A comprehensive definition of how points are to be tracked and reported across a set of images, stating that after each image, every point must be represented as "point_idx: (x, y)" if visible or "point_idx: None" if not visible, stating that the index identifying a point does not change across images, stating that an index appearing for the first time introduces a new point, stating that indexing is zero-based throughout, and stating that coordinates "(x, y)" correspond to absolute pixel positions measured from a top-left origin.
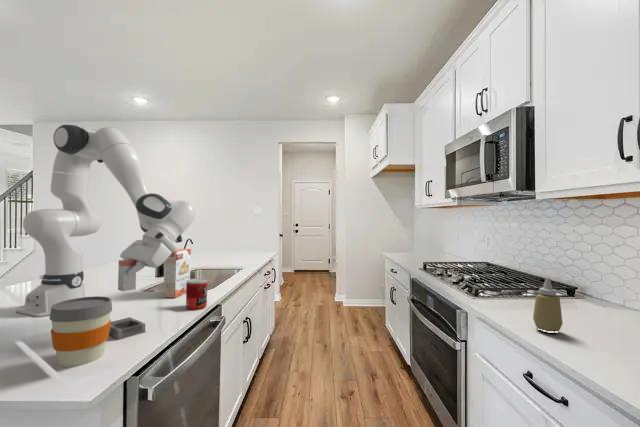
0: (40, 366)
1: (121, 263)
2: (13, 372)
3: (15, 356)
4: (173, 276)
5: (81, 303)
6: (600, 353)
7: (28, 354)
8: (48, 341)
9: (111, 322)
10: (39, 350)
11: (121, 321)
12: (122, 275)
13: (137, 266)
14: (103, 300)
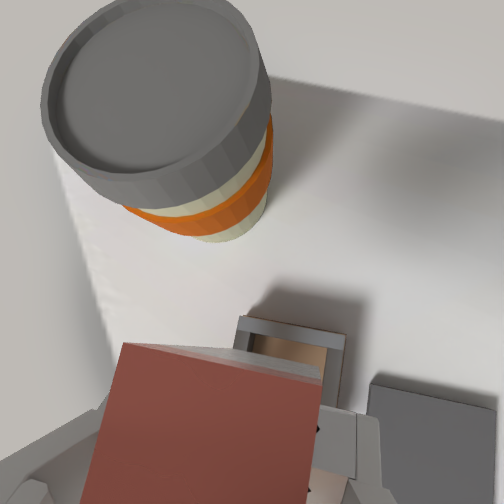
0: (286, 136)
1: (215, 359)
2: (308, 95)
3: (425, 124)
4: None
5: (184, 93)
6: None
7: (409, 146)
8: (488, 216)
9: (482, 440)
10: (417, 172)
11: (454, 473)
12: (220, 351)
13: (28, 458)
14: (139, 168)
